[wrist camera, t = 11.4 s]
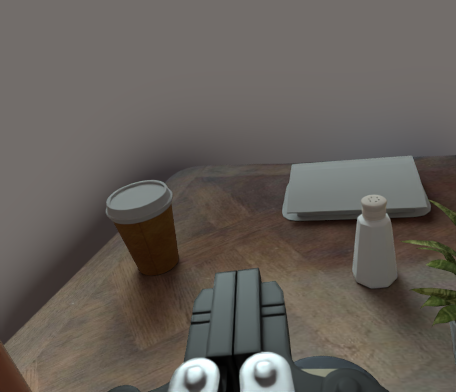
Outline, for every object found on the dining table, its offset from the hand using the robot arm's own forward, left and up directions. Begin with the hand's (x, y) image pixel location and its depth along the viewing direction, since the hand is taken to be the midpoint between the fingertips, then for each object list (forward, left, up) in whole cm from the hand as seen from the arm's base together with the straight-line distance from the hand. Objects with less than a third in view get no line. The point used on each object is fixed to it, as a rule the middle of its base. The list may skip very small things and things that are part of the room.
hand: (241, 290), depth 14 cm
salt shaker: (+32, +4, -26) cm, 42 cm away
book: (+51, +13, -26) cm, 59 cm away
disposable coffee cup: (+24, +34, -26) cm, 49 cm away
